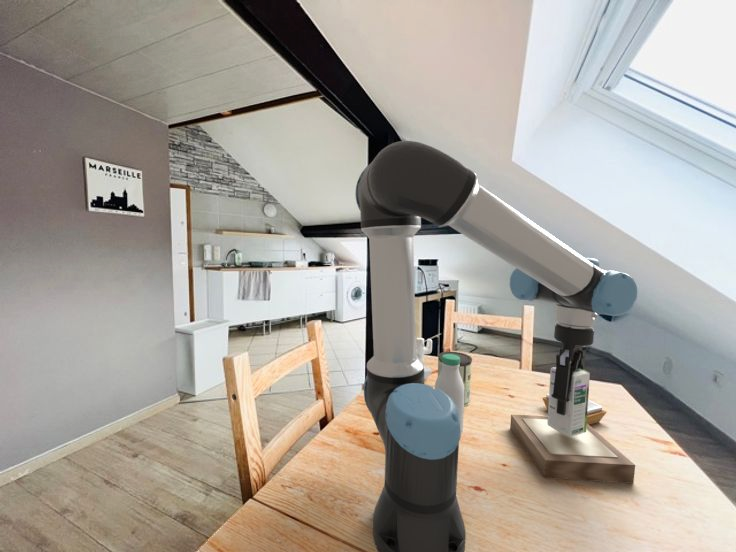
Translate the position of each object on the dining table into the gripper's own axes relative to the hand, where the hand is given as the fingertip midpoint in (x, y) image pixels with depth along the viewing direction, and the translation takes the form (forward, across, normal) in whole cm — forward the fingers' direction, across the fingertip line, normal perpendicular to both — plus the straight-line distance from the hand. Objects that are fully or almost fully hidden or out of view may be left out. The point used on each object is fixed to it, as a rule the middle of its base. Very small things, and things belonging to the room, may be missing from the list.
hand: (566, 420), depth 73 cm
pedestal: (+8, 0, 0) cm, 8 cm away
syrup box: (+2, 0, 0) cm, 2 cm away
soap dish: (+8, +21, +4) cm, 23 cm away
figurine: (+8, +7, +50) cm, 51 cm away
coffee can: (+8, +2, +32) cm, 33 cm away
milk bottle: (+8, -13, +23) cm, 28 cm away
